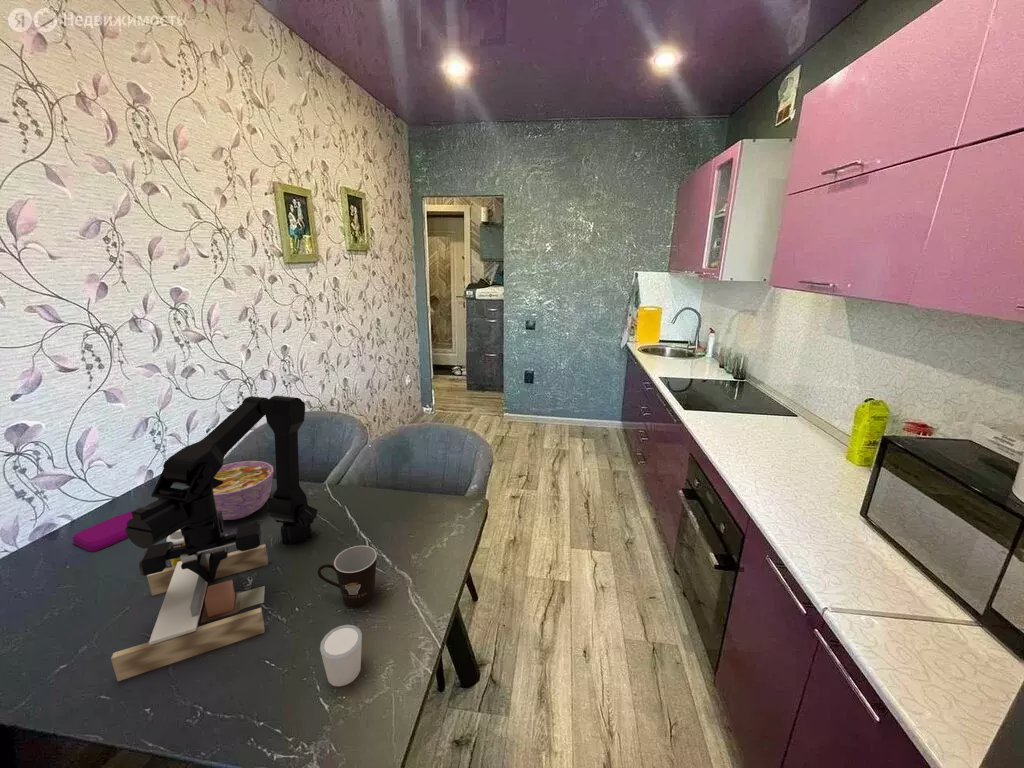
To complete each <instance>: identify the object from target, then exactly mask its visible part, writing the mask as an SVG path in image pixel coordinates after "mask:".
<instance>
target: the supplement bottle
mask: <svg viewBox="0 0 1024 768" xmlns="http://www.w3.org/2000/svg"><path fill="white" fill-rule="evenodd" d="M165 539H166V542H170V541H171V542H173V545H174V548H175V547H179V546H184V545H185V542H184V537H183V536H182V533H181V530H180V529H179V530H178V531H176V532H174V533H173V534H171V535H169V536H168V537H166V538H165ZM166 542H165V543H166ZM179 561H182V560H181V559H180V557H178V558H174V559H170V563H171V564H170V565H171V567H174V566H176V565H177V562H179Z"/></svg>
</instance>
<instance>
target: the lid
mask: <svg viewBox="0 0 1024 768" xmlns="http://www.w3.org/2000/svg"><path fill="white" fill-rule="evenodd" d="M205 555H206V559H207V562H208V565H209V558H210V553H205ZM181 565H182V561H179V562H177V565H176V568H175V571H174V573H173V576H172V579H171V582H170V585H169V587H168V590H167V592H165V593H166V594H165V596H164V599H163V602H162V605H161V608H160V610H159V613H158V615H157V619H156V621H155V624H154V627H153V629H152V633H151V635H150V639H149V640H148V642H149V645H152V644H155V643H158V642H161V641H165V640H168V639H171V638H174V637H177V636H181V635H184V634H187V633H190V632H193V631H196V630H197V627H198V626H199V622H200V618H201V617H200V616H201V612H202V609H203V603H204V601H205V597H206V593H207V588H208V585H209V583H207V582H206V581H205V580H204V579H203V578H201V577H200V576H199V575H198V574H196V573H194V572H193V571H191V570H189V569H182V568H181Z"/></svg>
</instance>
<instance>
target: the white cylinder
mask: <svg viewBox="0 0 1024 768" xmlns="http://www.w3.org/2000/svg"><path fill="white" fill-rule="evenodd" d="M362 637H363V633H362V631H361V629H360V628H359V627H357V626H356V625H353V624H344V625H343V624H342V625H338V626H337V627H334V628H332V629H331V630H330V631H329V632H327V633H326V634H325V635H324V637H323V638H322V640H321V642H320V647H319V651H320V654H321V657H322V662H323V667H324V671H325V674H326V678H327V680H328V683H329V684H330V685H332V686H333V687H343V686H347V685H349V684H351V683H352V682H354V681H355V679H356V678H357V677H358V676H359V674H360V672H361V669H362V665H361V664H362V646H363V645H362V642H363V641H362Z"/></svg>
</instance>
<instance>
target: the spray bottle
mask: <svg viewBox="0 0 1024 768" xmlns="http://www.w3.org/2000/svg"><path fill="white" fill-rule="evenodd" d="M134 510H135V509H133V510H129V511H128V512H127V511H126V512H125V513H122V514H118V515H115V516H113V517H111V518H109V519H106V520H104V521H101V522H99V523H97V524H94V525H92V526H89V527H87V528H84V529H82V530H81V531H79V532H77V533H75V534H74V535H73V537H72V542H73V544H74V545H76V546H77V547H80V548H81V549H83V550H86V551H88V552H94V553H95V552H97V551H98V552H99V551H100V550H103V549H106V548H108V547H110V546H112V545H115V544H117V543H119V542H122V541H124V540H127V539H129V538H128V536H127V534H126V530H125V528H126V527H127V522H128V521H129V520H130V519H132V514H131V513H132V511H134Z"/></svg>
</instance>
